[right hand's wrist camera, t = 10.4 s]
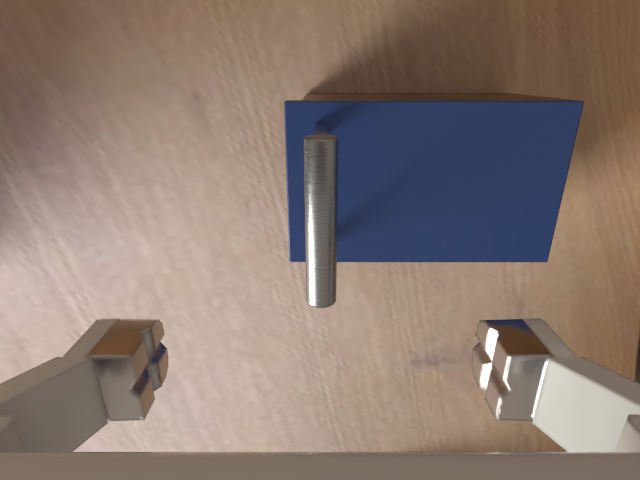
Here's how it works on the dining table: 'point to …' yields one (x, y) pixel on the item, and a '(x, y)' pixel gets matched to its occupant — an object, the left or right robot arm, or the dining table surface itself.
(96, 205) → the dining table surface
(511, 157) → the lid
